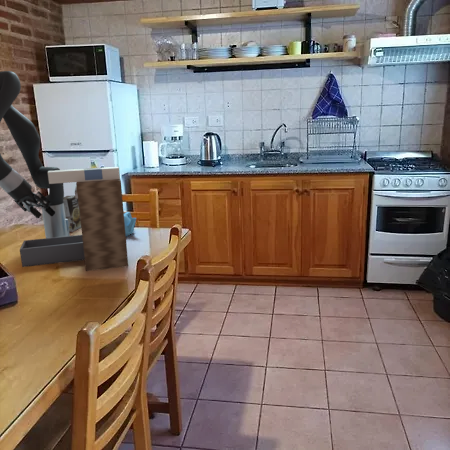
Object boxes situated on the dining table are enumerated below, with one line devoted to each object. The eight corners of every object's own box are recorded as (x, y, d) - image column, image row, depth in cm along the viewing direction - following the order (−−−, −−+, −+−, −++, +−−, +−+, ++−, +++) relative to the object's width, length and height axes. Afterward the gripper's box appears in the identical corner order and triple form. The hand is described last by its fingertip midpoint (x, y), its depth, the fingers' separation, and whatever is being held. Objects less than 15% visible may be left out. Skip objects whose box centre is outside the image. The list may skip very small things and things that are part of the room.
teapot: (138, 236, 200) (136, 213, 197) (104, 240, 195) (102, 217, 192) (133, 228, 214) (131, 207, 211) (101, 232, 209) (99, 210, 206)
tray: (22, 267, 164) (19, 249, 163) (26, 257, 176) (23, 240, 174) (107, 257, 173) (105, 240, 171) (106, 248, 184) (104, 232, 182)
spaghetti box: (49, 183, 152) (47, 172, 150) (50, 182, 155) (48, 170, 154) (119, 179, 158) (119, 167, 157) (119, 177, 162) (118, 166, 161)
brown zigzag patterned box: (83, 271, 158) (73, 183, 150) (84, 260, 170) (74, 178, 161) (128, 265, 163) (120, 180, 155) (125, 255, 174) (118, 175, 166)
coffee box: (73, 231, 210) (69, 199, 206) (61, 231, 212) (56, 198, 208) (82, 226, 219) (79, 195, 215) (71, 226, 220) (67, 195, 216)
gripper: (32, 174, 151) (64, 206, 160) (9, 179, 159) (41, 210, 168) (19, 189, 146) (52, 221, 156) (-4, 194, 154) (29, 224, 164)
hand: (46, 215), depth 162 cm, fingers open, 8 cm apart
